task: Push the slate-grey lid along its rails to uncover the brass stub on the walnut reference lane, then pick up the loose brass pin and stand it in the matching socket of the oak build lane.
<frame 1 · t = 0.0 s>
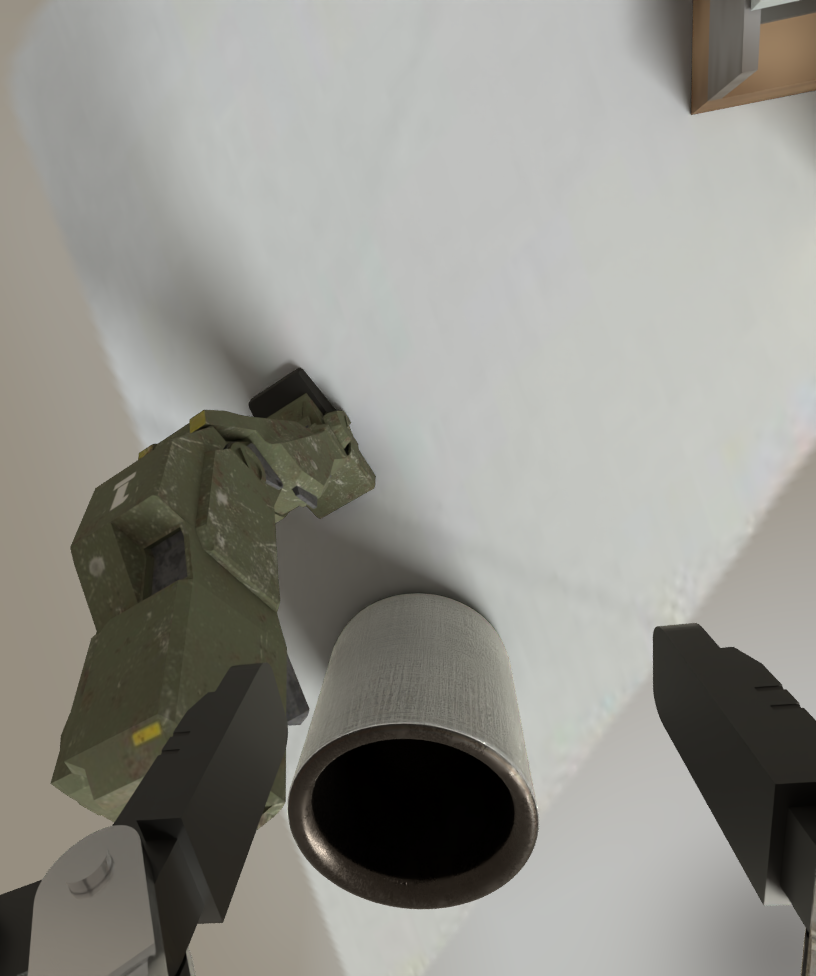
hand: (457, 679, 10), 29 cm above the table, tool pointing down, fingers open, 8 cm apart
planter: (420, 662, 46), on the table
mechanical leg: (320, 450, 40), on the table
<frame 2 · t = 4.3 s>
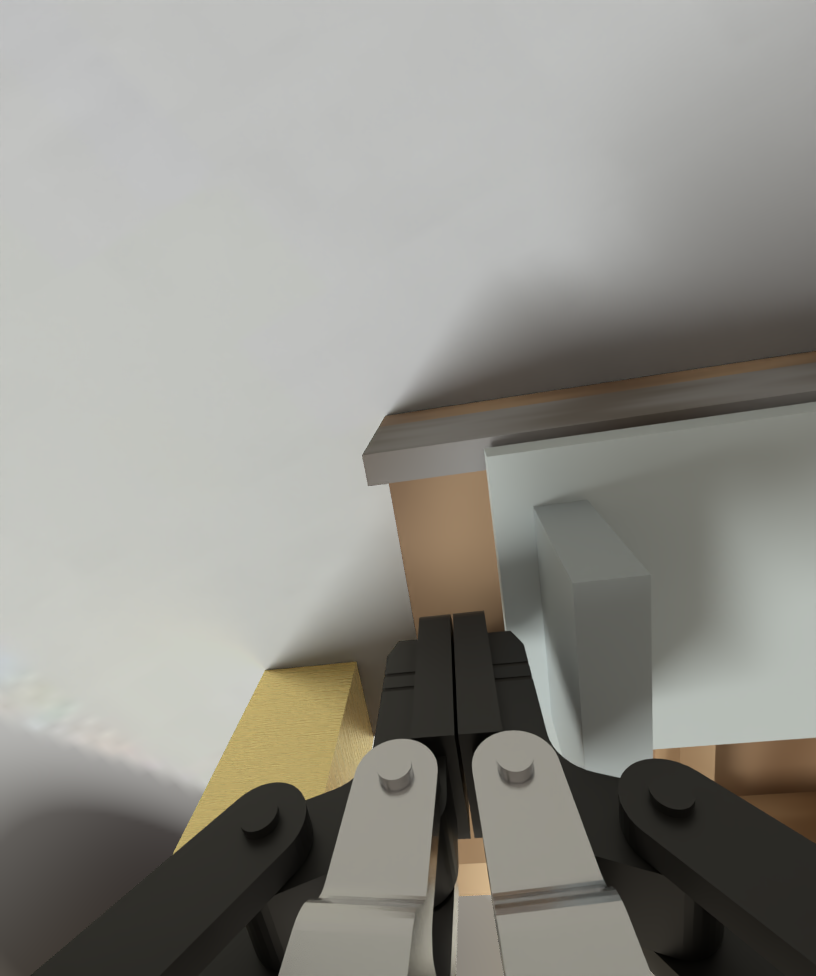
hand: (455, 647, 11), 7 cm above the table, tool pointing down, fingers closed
board: (736, 602, 19), on the table
lid: (804, 631, 10), point 8 cm above the table, slide at 0.4 cm, touching gripper
pin: (320, 704, 21), on the table
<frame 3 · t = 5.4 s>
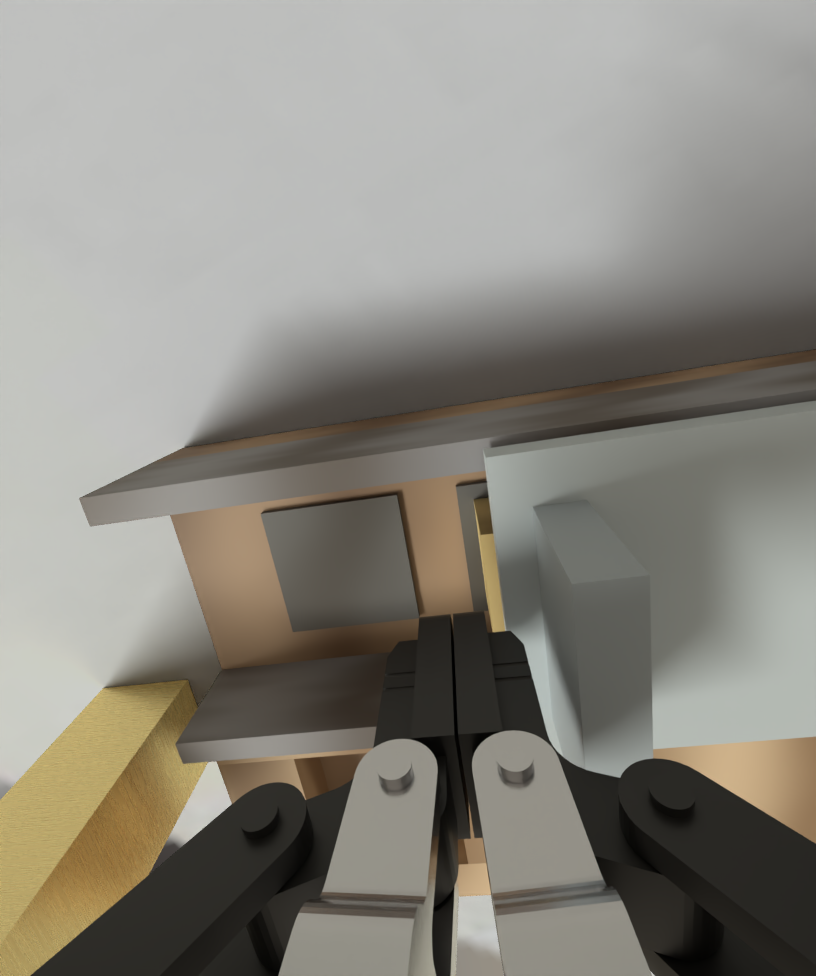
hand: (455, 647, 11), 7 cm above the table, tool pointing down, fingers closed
board: (535, 623, 20), on the table
lid: (805, 630, 10), point 8 cm above the table, slide at 8.0 cm, touching gripper
pin: (159, 720, 22), on the table
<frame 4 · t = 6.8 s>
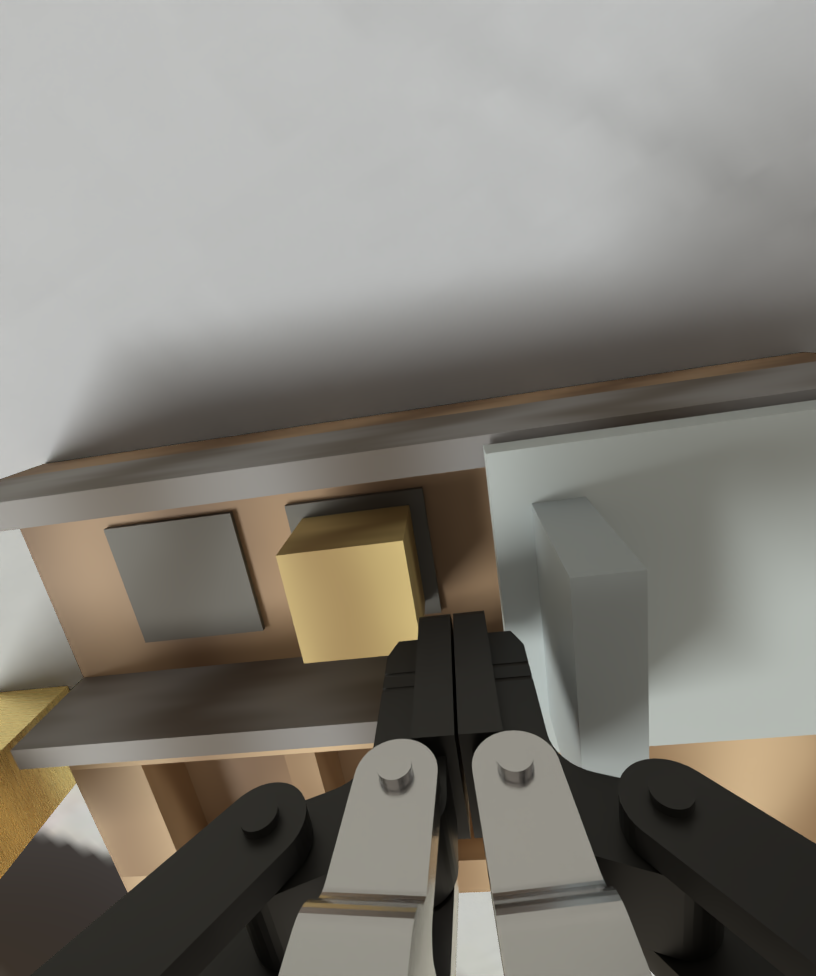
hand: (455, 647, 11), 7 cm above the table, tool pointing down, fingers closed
board: (392, 635, 20), on the table
lid: (801, 628, 10), point 8 cm above the table, slide at 13.7 cm, touching gripper
pin: (43, 724, 23), on the table
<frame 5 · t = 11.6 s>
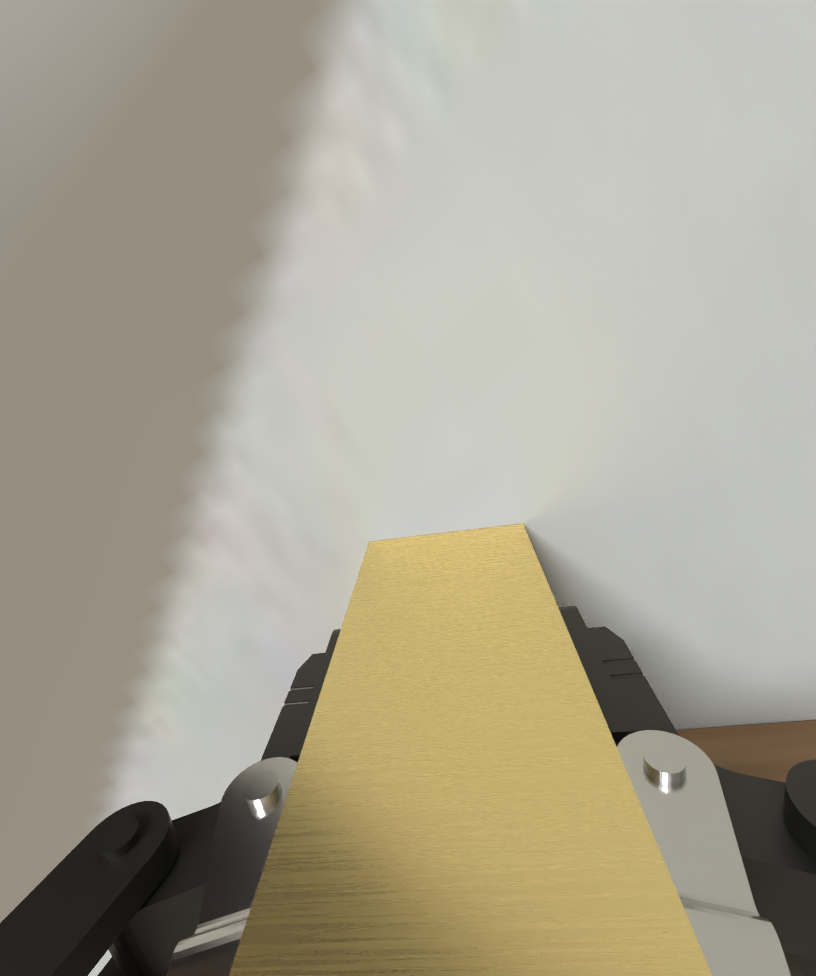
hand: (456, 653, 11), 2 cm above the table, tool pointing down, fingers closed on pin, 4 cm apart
pin: (454, 600, 13), on the table, touching gripper
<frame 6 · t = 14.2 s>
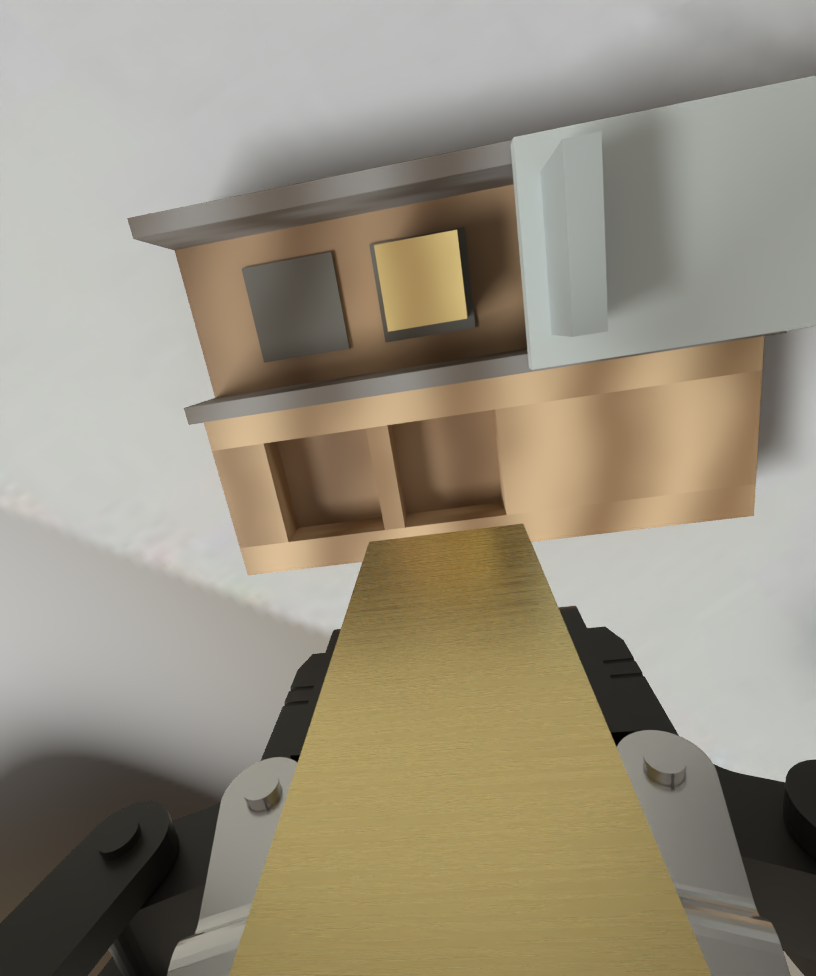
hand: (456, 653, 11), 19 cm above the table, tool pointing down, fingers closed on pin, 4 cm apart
board: (436, 374, 28), on the table
lid: (696, 226, 18), point 8 cm above the table, slide at 13.7 cm
pin: (454, 600, 13), point 17 cm above the table, touching gripper
when the fingers open (5 cm above the table, at t = 17.0 s): pin stays where it is, resting on board.
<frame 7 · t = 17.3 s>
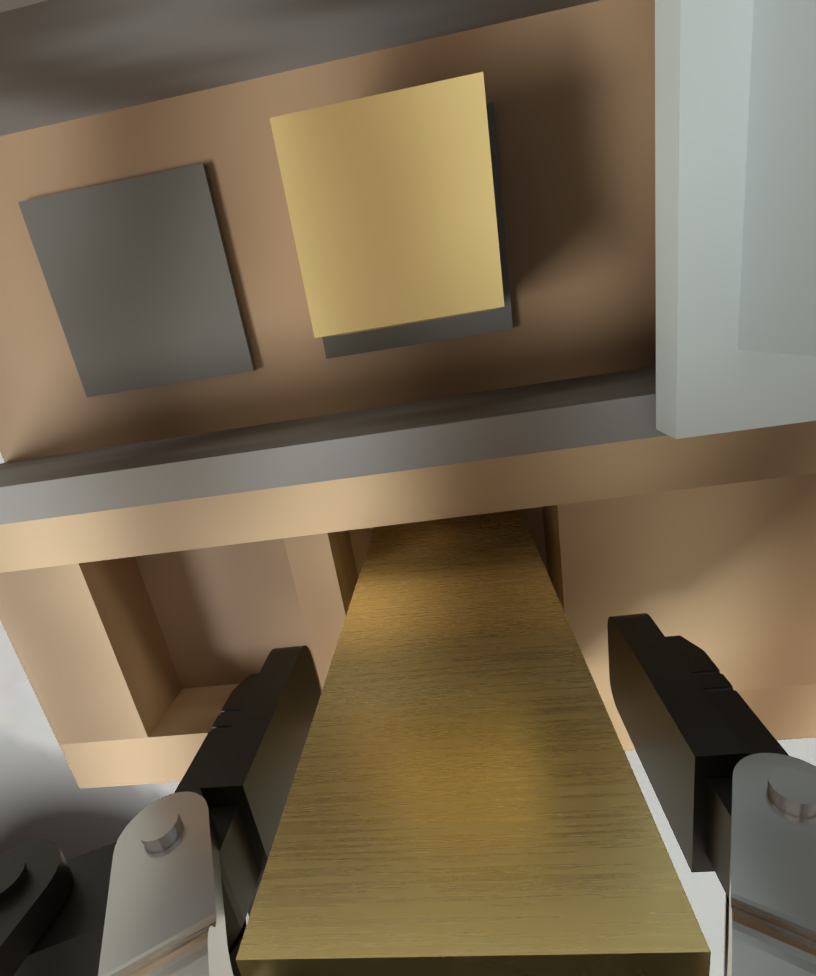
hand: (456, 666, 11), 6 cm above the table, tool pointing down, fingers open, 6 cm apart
board: (431, 416, 15), on the table
pin: (454, 580, 14), point 2 cm above the table, touching board
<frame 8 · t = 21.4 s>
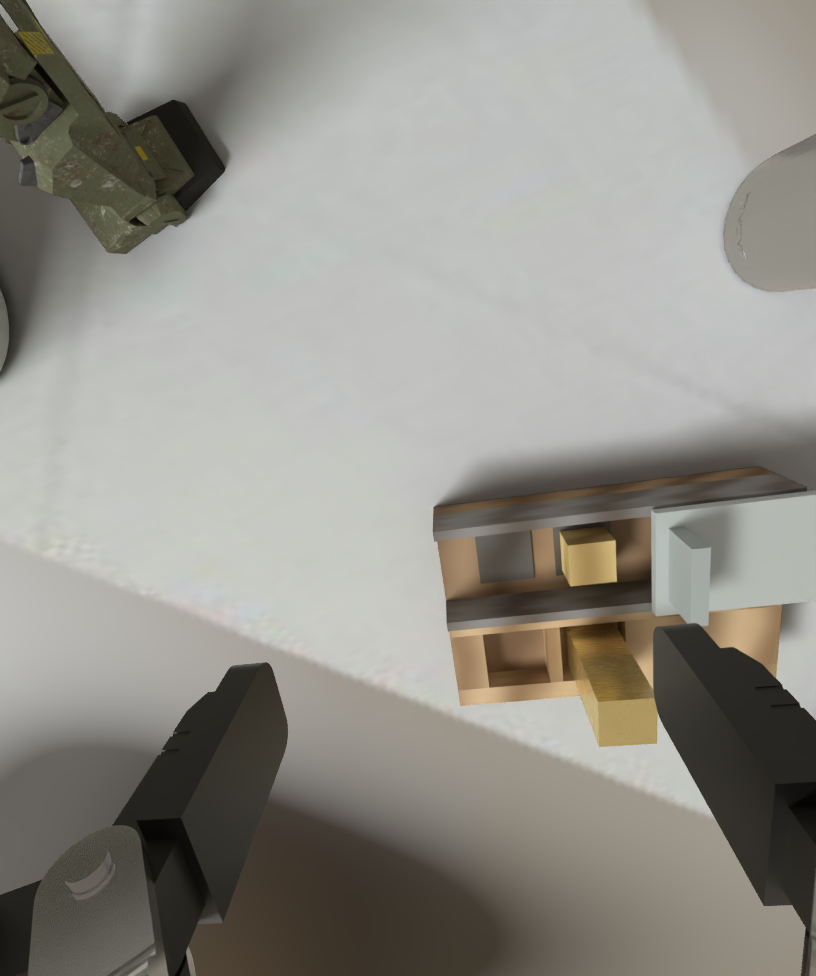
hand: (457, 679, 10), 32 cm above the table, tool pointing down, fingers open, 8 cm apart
board: (578, 582, 45), on the table
lid: (751, 566, 35), point 8 cm above the table, slide at 13.7 cm
pin: (587, 637, 44), point 2 cm above the table, touching board
mechanical leg: (143, 189, 37), on the table
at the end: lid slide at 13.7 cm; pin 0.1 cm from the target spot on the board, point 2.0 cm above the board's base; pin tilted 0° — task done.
